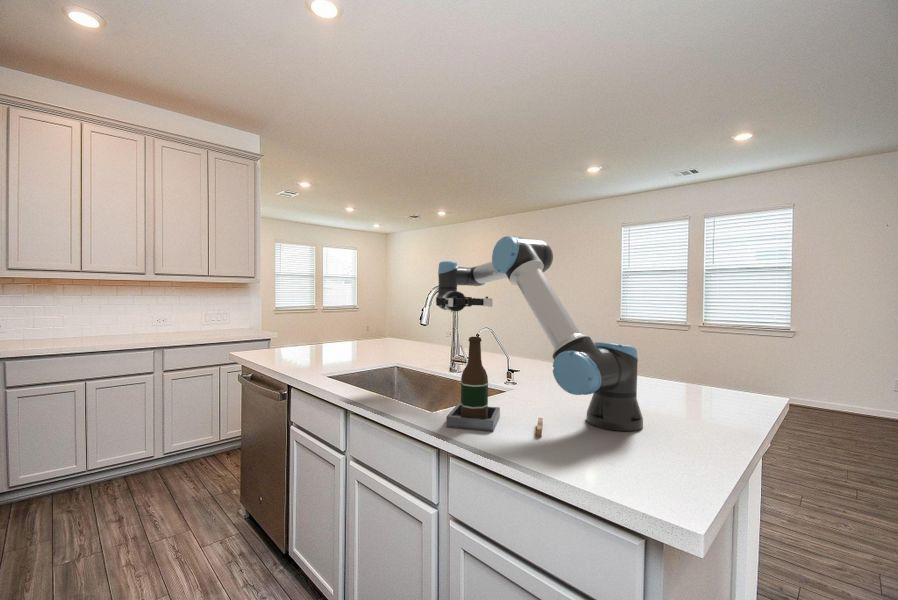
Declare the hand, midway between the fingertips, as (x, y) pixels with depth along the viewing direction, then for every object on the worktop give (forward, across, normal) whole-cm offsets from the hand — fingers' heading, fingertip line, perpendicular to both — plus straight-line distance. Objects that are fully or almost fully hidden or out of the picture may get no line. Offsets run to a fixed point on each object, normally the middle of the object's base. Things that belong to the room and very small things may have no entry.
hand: (471, 302), depth 132 cm
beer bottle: (+16, +4, -34) cm, 38 cm away
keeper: (+16, +4, -34) cm, 38 cm away
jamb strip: (+27, -11, -34) cm, 45 cm away
